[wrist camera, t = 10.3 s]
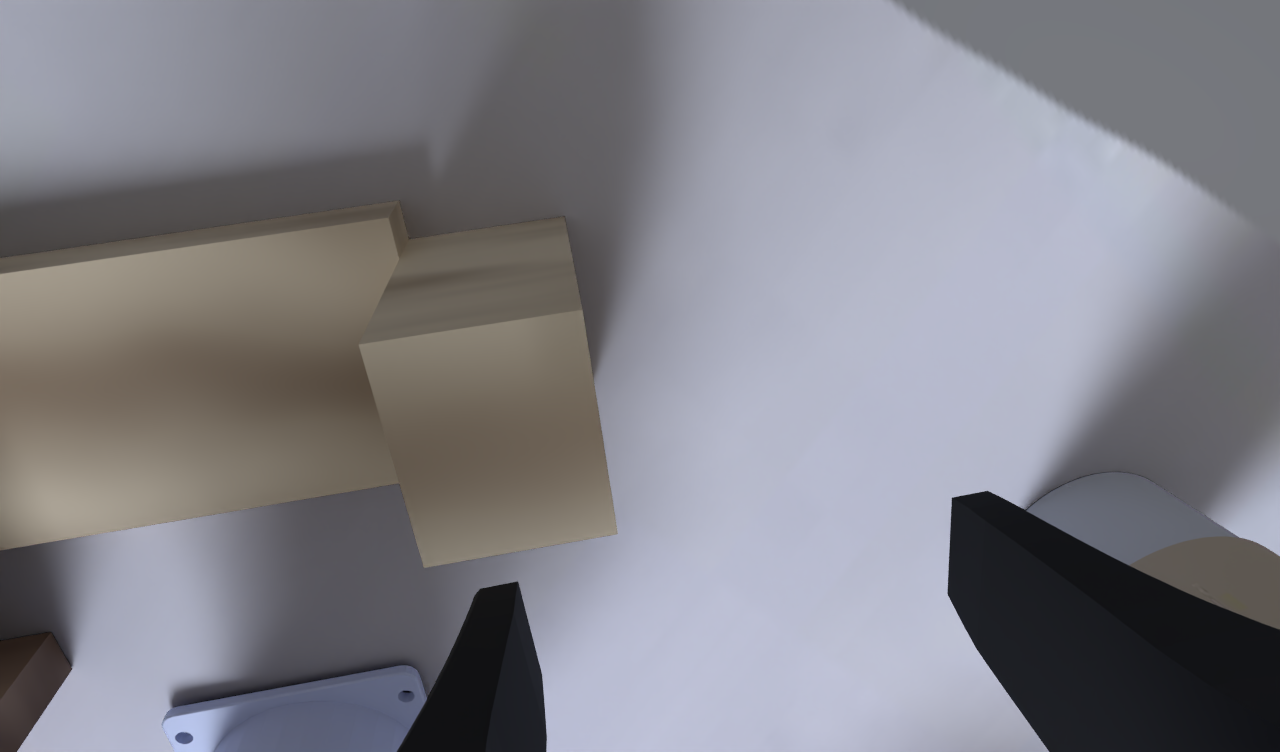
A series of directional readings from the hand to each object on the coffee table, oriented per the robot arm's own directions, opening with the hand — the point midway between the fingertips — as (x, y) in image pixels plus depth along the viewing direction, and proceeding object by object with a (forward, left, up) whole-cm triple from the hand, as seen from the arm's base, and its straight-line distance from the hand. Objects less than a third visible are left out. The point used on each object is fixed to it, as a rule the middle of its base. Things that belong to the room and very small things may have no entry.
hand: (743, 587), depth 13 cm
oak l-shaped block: (+1, +12, -11) cm, 16 cm away
